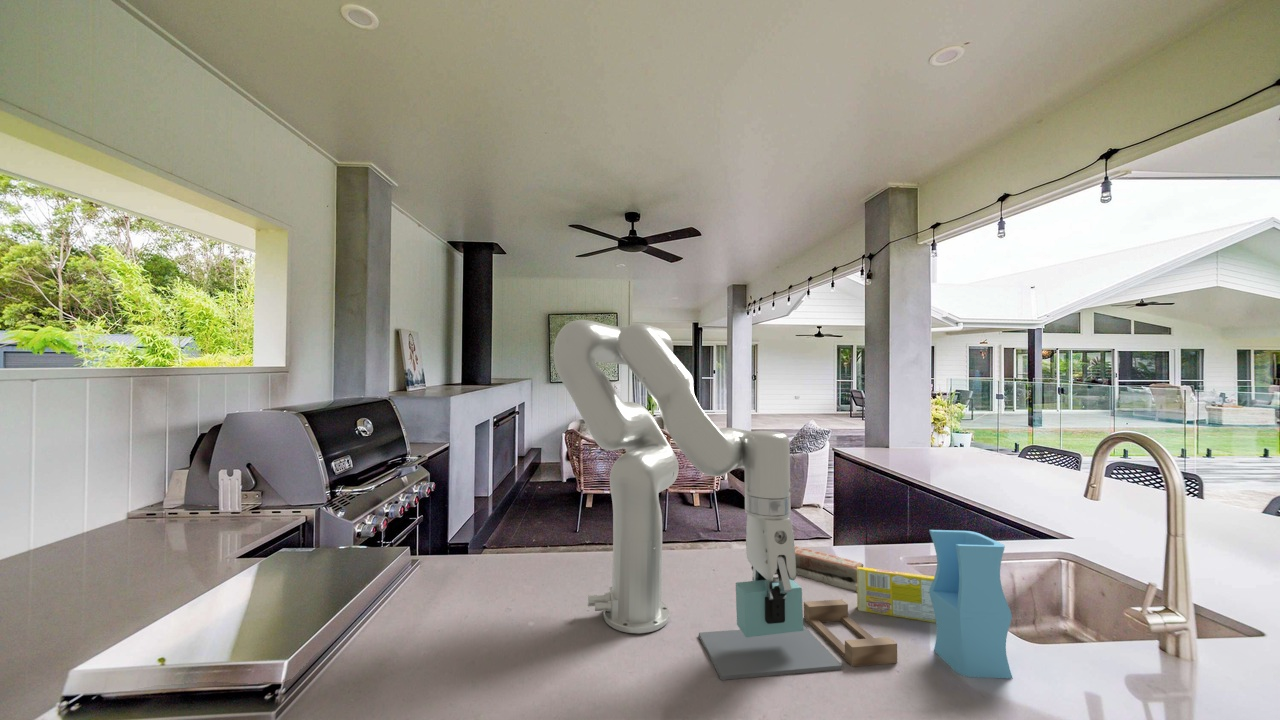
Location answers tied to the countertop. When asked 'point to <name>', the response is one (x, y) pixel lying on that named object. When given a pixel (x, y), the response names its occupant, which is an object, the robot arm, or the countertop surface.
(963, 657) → the vase
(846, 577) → the packaged product
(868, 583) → the candy box
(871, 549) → the countertop surface
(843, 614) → the frame
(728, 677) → the mat
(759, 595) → the block
